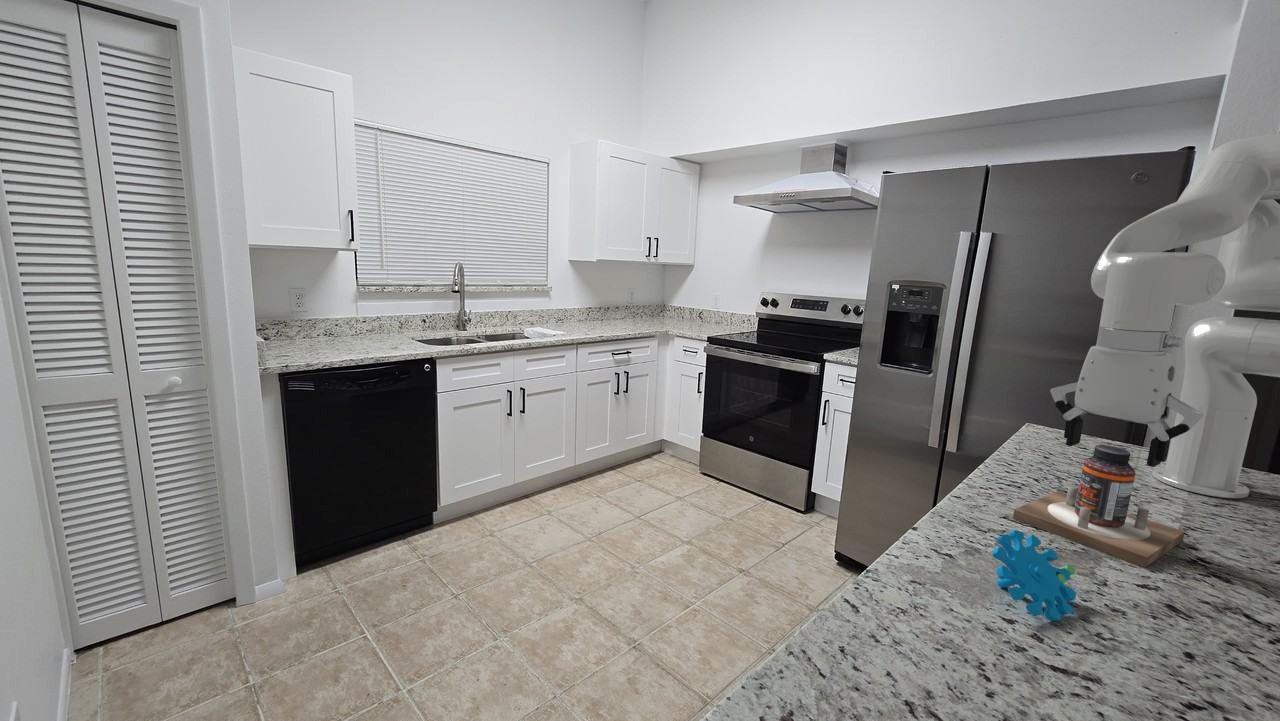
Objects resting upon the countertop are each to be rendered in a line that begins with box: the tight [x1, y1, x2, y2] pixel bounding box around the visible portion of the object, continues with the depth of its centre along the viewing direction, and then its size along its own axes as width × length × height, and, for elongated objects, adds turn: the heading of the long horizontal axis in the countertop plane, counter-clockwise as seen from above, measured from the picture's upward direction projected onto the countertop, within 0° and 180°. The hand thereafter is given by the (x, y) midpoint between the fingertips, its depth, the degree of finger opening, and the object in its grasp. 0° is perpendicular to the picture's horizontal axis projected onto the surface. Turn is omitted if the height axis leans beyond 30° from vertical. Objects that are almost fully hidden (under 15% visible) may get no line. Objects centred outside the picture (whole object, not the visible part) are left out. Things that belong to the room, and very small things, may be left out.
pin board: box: [1012, 486, 1186, 569], centre depth 82 cm, size 15×16×4 cm
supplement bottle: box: [1075, 444, 1136, 527], centre depth 81 cm, size 6×6×11 cm
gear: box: [991, 529, 1077, 622], centre depth 64 cm, size 11×6×10 cm
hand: (1111, 454), depth 80 cm, fingers open, 9 cm apart
